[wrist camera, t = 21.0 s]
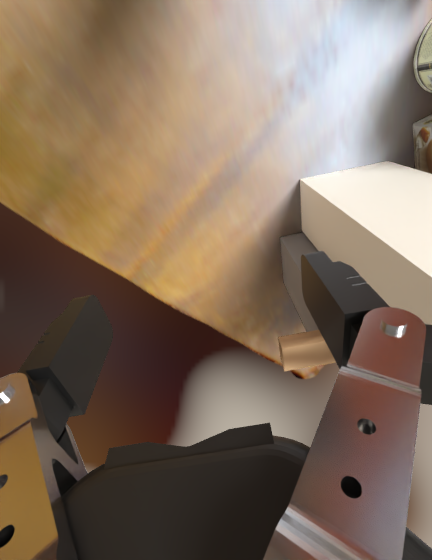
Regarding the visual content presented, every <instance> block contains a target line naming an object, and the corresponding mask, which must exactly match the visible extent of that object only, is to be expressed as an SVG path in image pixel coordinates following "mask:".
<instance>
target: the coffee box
mask: <svg viewBox="0 0 432 560" xmlns="http://www.w3.org/2000/svg"><path fill="white" fill-rule="evenodd" d="M413 141H414V159H415V169H417V170H420V171H423V172H427V173H430V174H432V115H430V116H428V117H425V118H423V119H421V120H419V121H417V122H415V123H414V124H413Z"/></svg>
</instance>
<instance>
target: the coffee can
mask: <svg viewBox="0 0 432 560" xmlns="http://www.w3.org/2000/svg"><path fill="white" fill-rule="evenodd" d="M414 74H415V77H416V80H417V82H418V83H419V85H420V86H421V87H422V88H423V89H424V90H426V91H428V92H430V93H432V19H431V20H430V22H429V23H428V24H427V26H426V27H425V29H424V31H423V33H422V35H421V37H420V39H419V41H418V44H417V47H416V51H415V56H414Z"/></svg>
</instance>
